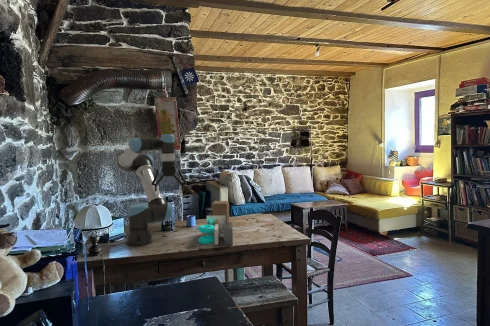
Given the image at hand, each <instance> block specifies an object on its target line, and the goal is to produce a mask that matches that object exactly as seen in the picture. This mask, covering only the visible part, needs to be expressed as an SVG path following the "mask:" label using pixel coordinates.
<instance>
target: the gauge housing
mask: <svg viewBox="0 0 490 326" xmlns="http://www.w3.org/2000/svg"><path fill="white" fill-rule="evenodd" d="M216 219H217V224H219V239H220V238H223V246H226V247H227V246H228V247H229V246H234V243H233V239H234V238H233V237H234V236H233V222H232V221H231V222H230V221H229V222H226V215H214V216H212V215H206V225H213V226H214V227H215V224H216ZM206 235H210V236H213V237H214V231H213V232H211V233H206ZM214 238H215V237H214Z"/></svg>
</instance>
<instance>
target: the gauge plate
mask: <svg viewBox="0 0 490 326" xmlns="http://www.w3.org/2000/svg"><path fill="white" fill-rule="evenodd" d="M214 237H215V242H214V246H218V245H219V239H220V238H219V224H217V219H216V224H215V229H214Z"/></svg>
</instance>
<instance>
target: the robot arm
mask: <svg viewBox="0 0 490 326" xmlns="http://www.w3.org/2000/svg"><path fill="white" fill-rule="evenodd" d="M128 145H129V147H128V148H127V149H126V150H125V151H124V153H121V154H120V155H119V156H118V157H117V159H116V164H117V167H118V168H119V169H120V170H121V171H123V172H127V173H132V172H134V173H135V174H136V175H137V176H138V177H139V178H140V181H141V184H142V187H143V190H144V192H145V195H146V198H147V200H148V202H139V203H134V204H131V205H130V206H129V207H128V209H127V210H128V211H127V217H128V233H127V237H126V239H125V240H126V243H125V244H126V245H128V246H143V245H144V246H145V245H148V244H150V243H152V242H153V235H152V233H151V230H150V226H149V224H155V223H156V224H157V223H160V222H161V223H162V222H166V221H169V220H170V219H171V218H172V214H173V208H172V204H171V202H169V201H167V200H166V199H165V198H164V197H162V195H161V193H160V186H159V184H160V183H161V181H162V180H163V179H164V178H165V177H166V178H167V177H174V178H175V180H176V181H177V182H178V183H179V194H180V195H179V197H183V192H184V190H185V185H187V184H188V181H187V180H186V179H185V177H184V175H183V173H182V170H181V168H176V161H175V160H176V157H175V156H176V153H175V152H176V151H175V148H176V147H175V136H174V134H171V133H170V134H169V133H168V134H167V133H165V134H161V136H160V137H135V138H131V139H130V140H129V144H128ZM150 151H151V152H153V151H161V169H160V168H158V169H156V173H155V175H154V174H153V171H154V169H155V163H154V162H155V160H154V158H153V157H152V155H151V154H147V153H146V154H145V153H143V152H150ZM160 173H162V175H161V176H160V177H159V174H160ZM176 173H178V175H179V177H180V178H181V179H180V178H179V177H178V176H177V174H176ZM158 177H159V179H158Z"/></svg>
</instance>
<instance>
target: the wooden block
mask: <svg viewBox="0 0 490 326" xmlns="http://www.w3.org/2000/svg"><path fill="white" fill-rule="evenodd" d="M214 215H226V222H230V201H229V200H214V201H213V202H212V203H211V216H214Z"/></svg>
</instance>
